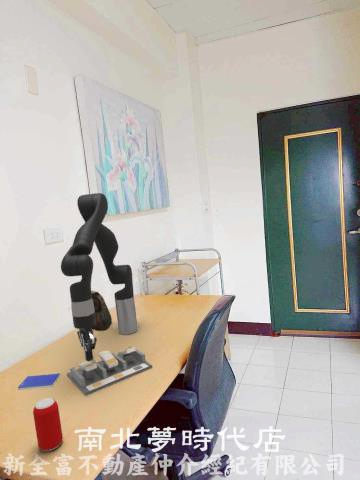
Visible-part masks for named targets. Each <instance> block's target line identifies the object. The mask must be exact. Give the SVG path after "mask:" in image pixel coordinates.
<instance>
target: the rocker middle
mask: <svg viewBox="0 0 360 480" xmlns="http://www.w3.org/2000/svg"><path fill="white" fill-rule="evenodd" d="M98 357H99V358H100V360H101V361H103V363H105V364H106V365H107V366H108V368H111V367H114V366H116V365H118V361H117V360H116V359H115V358H114V357H113V355H112V354H111V352H110V351H109V350H108V349H106V350H103V351H100V352H98Z"/></svg>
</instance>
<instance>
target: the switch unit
mask: <svg viewBox="0 0 360 480" xmlns="http://www.w3.org/2000/svg"><path fill="white" fill-rule="evenodd" d="M131 347H132V346H128V349H129V348H131ZM135 349H136V348H135ZM110 353H111V352H110ZM111 354H112V355H113V357H114V358H115V359H116V360H117V361H118V365H116V366H114V367H111V368H108V366H107V365H106V364H105V363H103V361H102V360H100V361H96V360H95V359H93V360H91V361H90V362H92V363H95V364H96V365H97V368H95V369H92V370H90V371H83V370H82V369H79V368H78V369H76V368H74V367H70V369H69V370H70V372H67V373H66V376H67V377H68V378H69V380H71V382H72V383H73V384H74V385H75V386H76V387H77V388H78V389H79V390H80V391H81V393H83V395H85V396H89V395H92V394H93V393H95V392H98V391H100V390H102V389H105V388H107V387H110V386H112V385H115V384H117V383H120V382H121V381H122V382H123V380H127V379H129V378H132V377H134V376H136V375H138V374H141V373H143V372H146V371H148V370H151V369H152V368H153V364H151V363H149V362H147V361H146V354H145V353H144V352H143V351H140V350H138V349H136V351H133V352H132V353H130V354H128V355H125V356H123V355H121V356H119V355H118V354H115V352H112V353H111Z"/></svg>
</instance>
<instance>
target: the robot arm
mask: <svg viewBox="0 0 360 480" xmlns="http://www.w3.org/2000/svg"><path fill="white" fill-rule="evenodd" d="M76 202H77V208H78V212H79V214H80V215H81V217H82V219H83V221H84V223H83V224H82V225H81V226H80V228H79V229H78V230H77V232H76V233H75V236H74V238H73V241H72V245H71V246H70V248H68V250H67V252H66V253H65V255H64V256H63V258H62V260H61V262H60V269H61V270H60V271H61V273H62V274H63V275H64V276H66V277H81V280H80V281H77V282H74V283H73V282H72V284H71V285H69V294H70V295H69V296H70V302H71V303H70V304H71V316H72V323H73V327H74V328H75V329H78V331H76V334H77V336H78V340H79V343H80V345H81V347H82V349H83V351H84V358H85V361H86V362H87V361H89V362H91V361H92V360H94V354H93V350H95V349H96V345H97V341H98V339H97V337H94V335H95V334H94V330H93V329H92V326H93V325H95V324H96V318H95V310H94V303H93V300H92V293H91V291H92V278H93V272H94V260H93V259H92V257H91V253H92V251H93V248H94V247H93V246H94V245H95V247H96V249H97V251H98V254H99V255H100V258H101V259H102V262H103V264H104V268H105V271H106V273H107V277H108V279H109V282H110V283H111V284H112V285H124V287H123V288H121V289H119V290H117V291H116V292H114V302H115V303H114V305H115V310H116V311H115V312H116V318H117V319H116V320H117V328H118V333H119V335H124V336H127V335H132V334H134V333H135V334H136V332H138V329H139V328H138V327H139V326H138V319H137V311H136V310H137V309H136V304H135V294H134V284H133V283H134V282H133V281H134V280H133V270H132V267H131V266H130V265H129V264H120V265H119V264H118V265H115V264H114V262H115V261H114V260H115V258H116V256H117V254H118V251H119V243H118V241H117V237H116V235H115V233H114V232H113V231H112V230H111V229H110V228H108V227H107V226H106V225H104V224H103V222H104V219H105V218H106V215H107V213H108V210H109V209H108V208H109V204H108V198H107V196H106V195H105V193H101V192H99V193H97V192H96V193H88V194H87V193H85V194H82V195H80V196H78V198H77V201H76Z"/></svg>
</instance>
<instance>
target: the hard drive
mask: <svg viewBox="0 0 360 480" xmlns="http://www.w3.org/2000/svg"><path fill="white" fill-rule="evenodd" d="M60 376H61V373H50V374H40V375H39V374H38V375H28V376H26V378H24V380H23V381H22V382H21V383H20V384H19V385H18V387H17V390H18V391H21V390H30V389H39V388H40V389H41V388H42V389H43V388H51V387H53V386H54V385H55V383H57V381H58V379H59V378H60Z"/></svg>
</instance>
